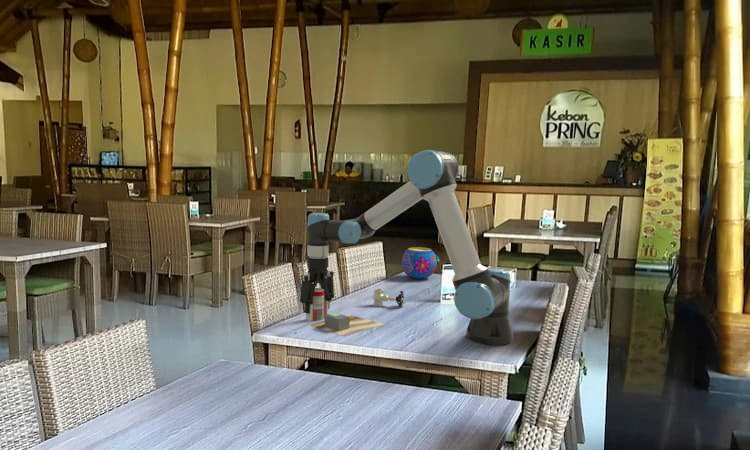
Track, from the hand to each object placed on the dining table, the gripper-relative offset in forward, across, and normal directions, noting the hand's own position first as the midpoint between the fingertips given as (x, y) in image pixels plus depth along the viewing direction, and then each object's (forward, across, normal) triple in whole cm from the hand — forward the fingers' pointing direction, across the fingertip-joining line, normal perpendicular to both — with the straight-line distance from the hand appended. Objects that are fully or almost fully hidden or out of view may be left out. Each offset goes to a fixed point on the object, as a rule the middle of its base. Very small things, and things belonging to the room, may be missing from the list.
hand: (317, 319), depth 205 cm
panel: (+1, -2, +13) cm, 13 cm away
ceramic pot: (+1, -90, -25) cm, 93 cm away
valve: (+1, -36, +2) cm, 36 cm away
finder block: (-1, +3, +13) cm, 14 cm away
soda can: (+1, 0, 0) cm, 1 cm away
